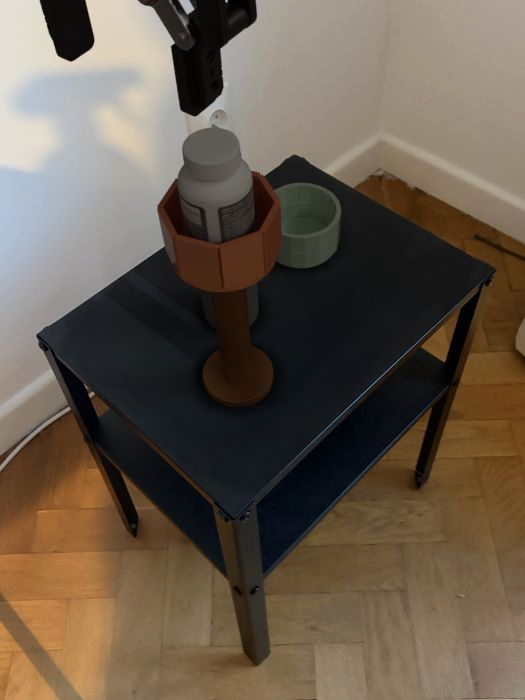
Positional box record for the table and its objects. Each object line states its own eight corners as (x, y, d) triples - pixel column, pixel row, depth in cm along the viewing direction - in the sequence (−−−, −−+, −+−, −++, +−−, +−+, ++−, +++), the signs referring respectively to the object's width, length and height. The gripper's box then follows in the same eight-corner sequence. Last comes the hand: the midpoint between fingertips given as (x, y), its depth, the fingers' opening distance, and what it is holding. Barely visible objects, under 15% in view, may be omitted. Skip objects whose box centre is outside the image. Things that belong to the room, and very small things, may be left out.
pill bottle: (256, 220, 59) (249, 118, 51) (257, 270, 56) (251, 169, 48) (189, 223, 59) (173, 122, 51) (187, 273, 56) (169, 173, 48)
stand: (219, 418, 70) (198, 296, 55) (193, 364, 74) (168, 236, 59) (285, 391, 71) (282, 266, 57) (256, 340, 75) (247, 210, 61)
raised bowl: (192, 307, 55) (184, 261, 51) (155, 233, 59) (145, 186, 55) (296, 270, 56) (296, 223, 52) (252, 201, 61) (249, 153, 57)
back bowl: (282, 279, 80) (281, 247, 76) (251, 229, 85) (248, 196, 81) (352, 254, 82) (355, 222, 78) (317, 206, 86) (318, 173, 82)
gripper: (-167, -344, 26) (-11, 71, 39) (135, -291, 20) (197, 169, 33) (-5, -387, 29) (88, 7, 42) (289, -351, 24) (291, 87, 37)
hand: (136, 79), depth 38 cm, fingers open, 8 cm apart
